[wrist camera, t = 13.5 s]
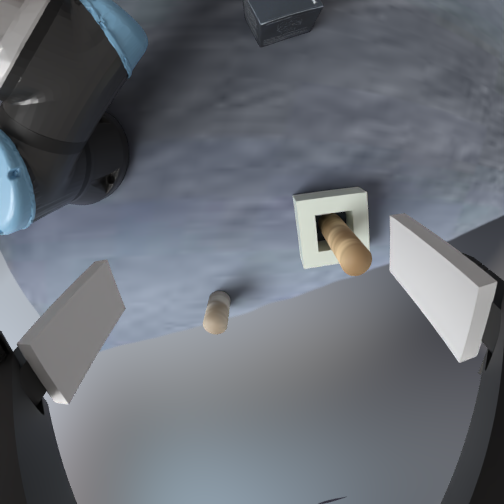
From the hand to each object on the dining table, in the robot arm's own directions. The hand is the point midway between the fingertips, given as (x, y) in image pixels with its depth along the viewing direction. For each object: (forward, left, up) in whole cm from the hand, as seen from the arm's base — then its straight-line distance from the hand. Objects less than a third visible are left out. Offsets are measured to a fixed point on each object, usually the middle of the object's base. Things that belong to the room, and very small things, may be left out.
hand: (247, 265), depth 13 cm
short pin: (-9, -20, -32) cm, 39 cm away
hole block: (+10, -10, -32) cm, 35 cm away
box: (+7, +21, -32) cm, 39 cm away
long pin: (+10, -10, -32) cm, 35 cm away
